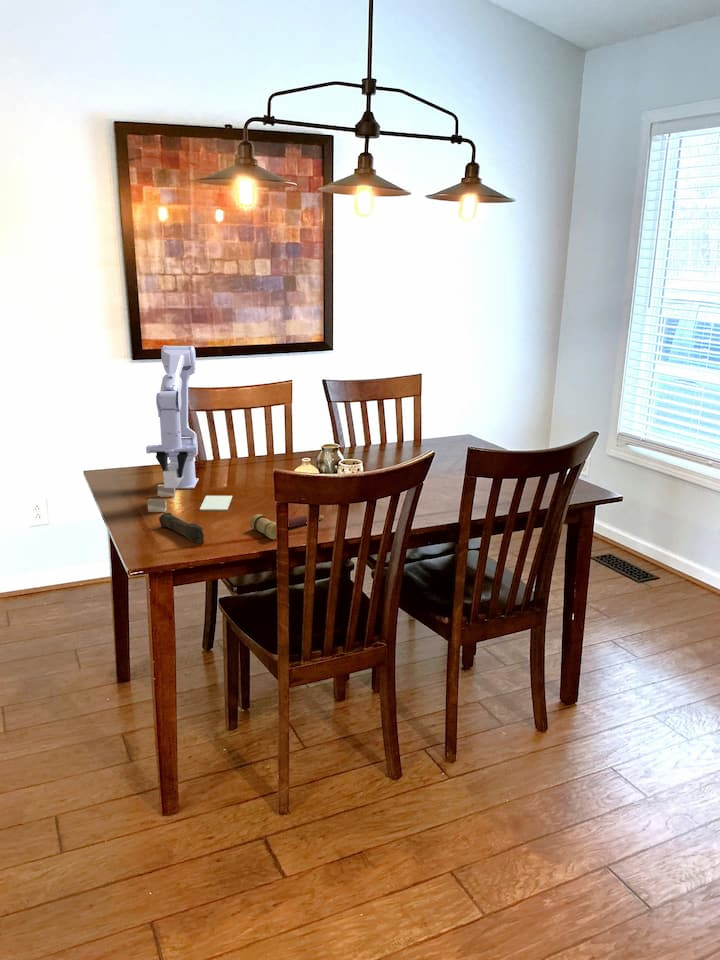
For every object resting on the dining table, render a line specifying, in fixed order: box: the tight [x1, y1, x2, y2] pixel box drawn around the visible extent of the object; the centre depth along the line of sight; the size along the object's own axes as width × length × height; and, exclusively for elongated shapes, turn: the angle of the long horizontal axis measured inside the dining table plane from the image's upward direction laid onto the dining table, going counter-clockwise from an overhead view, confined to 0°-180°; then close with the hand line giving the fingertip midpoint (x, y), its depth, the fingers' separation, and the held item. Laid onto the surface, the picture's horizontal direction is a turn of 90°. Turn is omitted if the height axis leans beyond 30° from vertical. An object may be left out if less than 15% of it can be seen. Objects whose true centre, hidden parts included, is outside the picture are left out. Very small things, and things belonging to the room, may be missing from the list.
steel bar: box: [162, 461, 183, 489], centre depth 228 cm, size 10×4×5 cm, turn 1°
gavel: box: [249, 513, 324, 540], centre depth 214 cm, size 21×5×10 cm
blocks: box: [146, 484, 177, 513], centre depth 232 cm, size 17×5×4 cm, turn 2°
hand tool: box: [158, 512, 205, 545], centre depth 207 cm, size 19×4×5 cm, turn 41°
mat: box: [199, 495, 233, 511], centre depth 231 cm, size 12×8×1 cm, turn 2°
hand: (173, 476), depth 229 cm, fingers closed on steel bar, 3 cm apart
